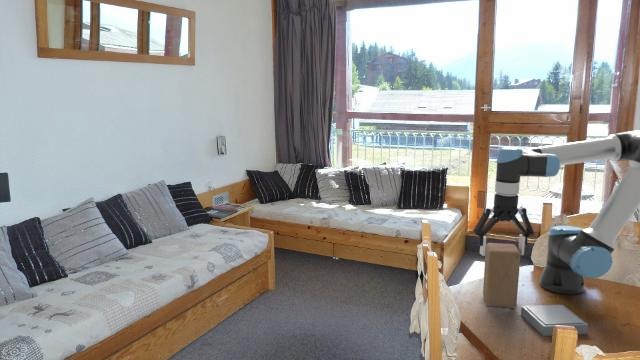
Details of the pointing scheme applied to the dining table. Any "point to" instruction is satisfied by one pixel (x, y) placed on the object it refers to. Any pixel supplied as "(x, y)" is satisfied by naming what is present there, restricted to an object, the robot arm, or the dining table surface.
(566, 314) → the slate tray
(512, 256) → the wooden block
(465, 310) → the dining table surface
